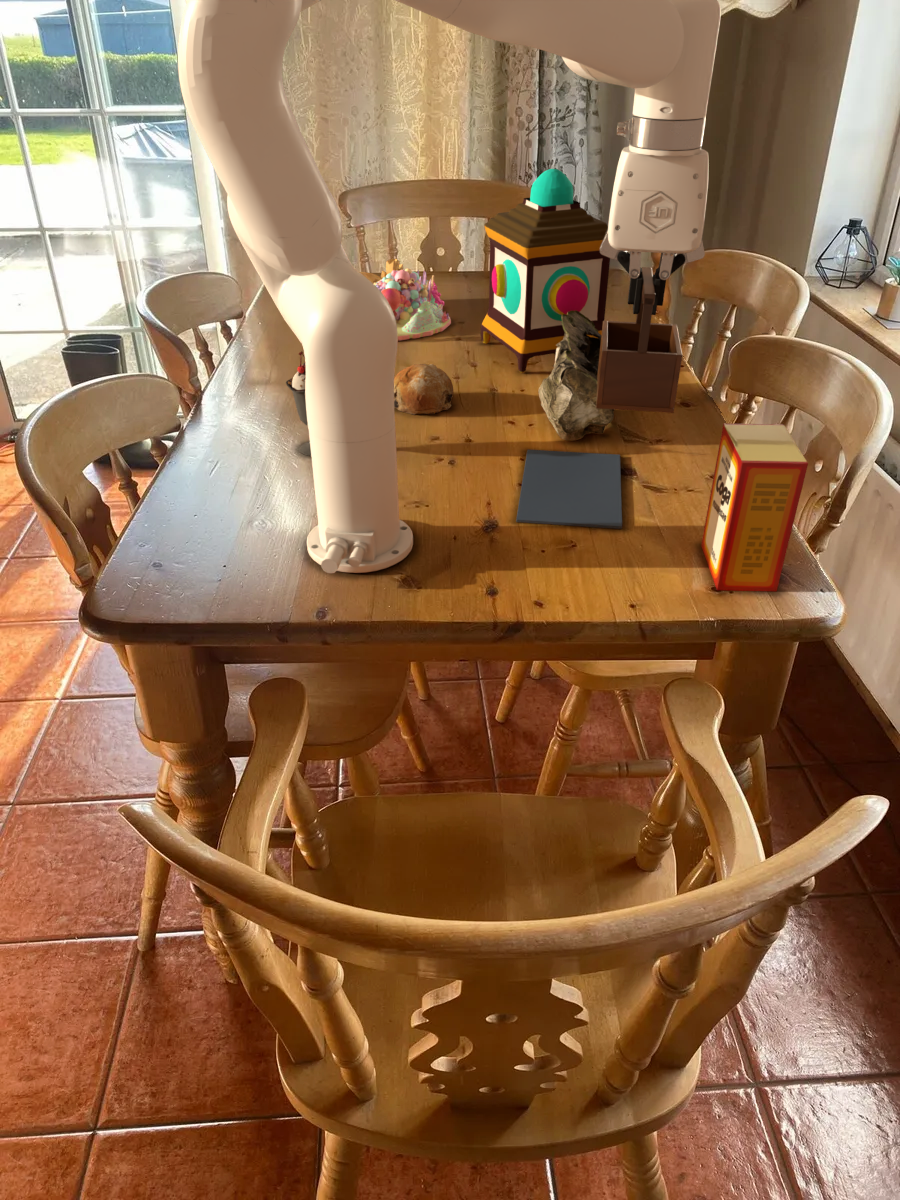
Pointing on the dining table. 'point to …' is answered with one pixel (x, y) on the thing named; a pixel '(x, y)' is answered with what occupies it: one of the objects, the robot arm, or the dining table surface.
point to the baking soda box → (752, 506)
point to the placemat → (571, 489)
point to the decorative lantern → (544, 269)
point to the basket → (639, 360)
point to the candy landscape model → (411, 300)
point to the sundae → (300, 399)
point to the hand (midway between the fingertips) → (644, 310)
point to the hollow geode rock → (575, 381)
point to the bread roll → (422, 390)
